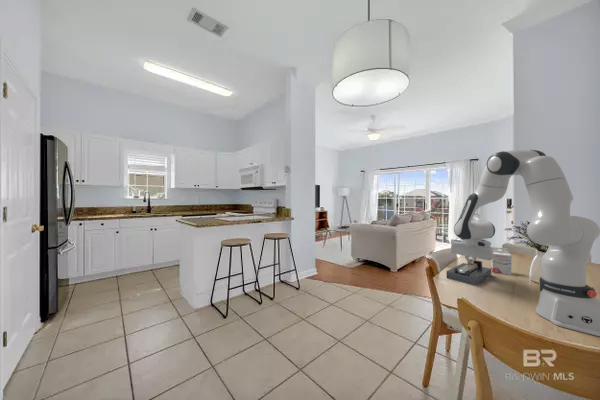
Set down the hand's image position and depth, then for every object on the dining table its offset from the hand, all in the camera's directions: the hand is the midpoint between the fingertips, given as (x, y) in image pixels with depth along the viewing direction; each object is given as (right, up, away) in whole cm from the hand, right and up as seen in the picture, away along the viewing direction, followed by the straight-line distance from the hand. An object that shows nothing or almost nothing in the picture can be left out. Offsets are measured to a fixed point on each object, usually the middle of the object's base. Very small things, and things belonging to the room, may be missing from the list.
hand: (470, 264), depth 130 cm
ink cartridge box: (+20, -6, +3) cm, 22 cm away
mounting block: (-3, -7, -3) cm, 8 cm away
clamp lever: (-4, -2, -4) cm, 6 cm away
